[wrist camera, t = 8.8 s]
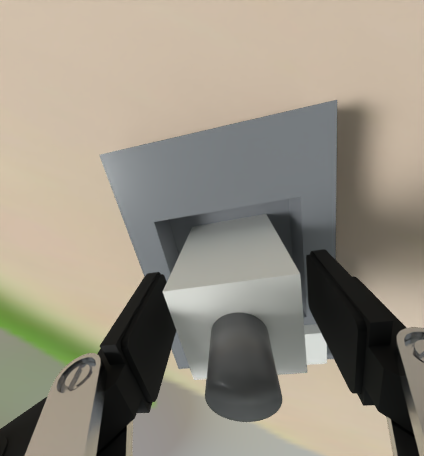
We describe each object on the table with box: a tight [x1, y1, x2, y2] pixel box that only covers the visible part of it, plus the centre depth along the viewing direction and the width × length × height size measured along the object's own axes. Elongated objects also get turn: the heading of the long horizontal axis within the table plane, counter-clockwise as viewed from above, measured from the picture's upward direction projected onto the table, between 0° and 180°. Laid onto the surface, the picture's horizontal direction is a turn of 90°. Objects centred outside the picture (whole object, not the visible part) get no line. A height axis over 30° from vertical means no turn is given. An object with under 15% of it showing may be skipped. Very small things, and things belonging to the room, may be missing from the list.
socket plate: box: [100, 100, 337, 369], centre depth 12 cm, size 10×14×3 cm
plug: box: [163, 214, 307, 422], centre depth 9 cm, size 4×4×8 cm
